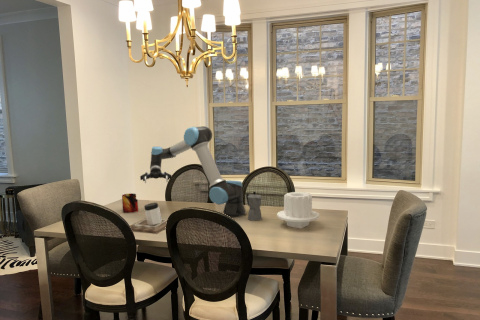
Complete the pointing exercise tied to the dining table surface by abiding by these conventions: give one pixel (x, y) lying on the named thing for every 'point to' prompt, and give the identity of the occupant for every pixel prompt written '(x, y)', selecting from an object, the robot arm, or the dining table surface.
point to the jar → (153, 214)
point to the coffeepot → (254, 206)
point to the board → (148, 226)
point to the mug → (129, 203)
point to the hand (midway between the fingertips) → (156, 180)
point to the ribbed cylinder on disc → (297, 209)
